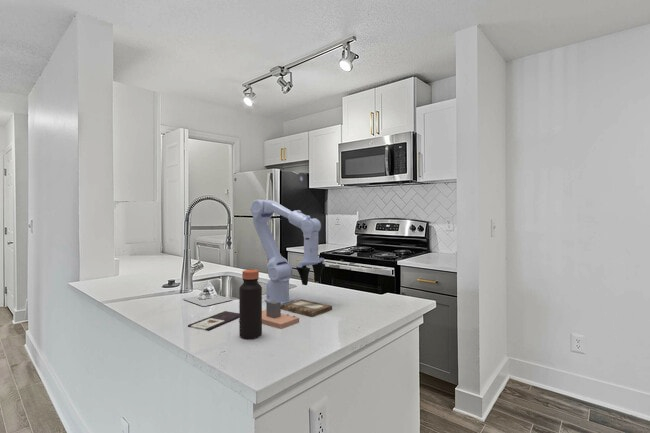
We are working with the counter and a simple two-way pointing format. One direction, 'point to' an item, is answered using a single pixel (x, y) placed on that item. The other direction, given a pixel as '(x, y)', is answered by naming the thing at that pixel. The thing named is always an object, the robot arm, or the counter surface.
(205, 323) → the chocolate bar
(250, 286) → the bottle
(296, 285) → the counter surface
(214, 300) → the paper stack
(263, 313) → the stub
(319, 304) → the board
